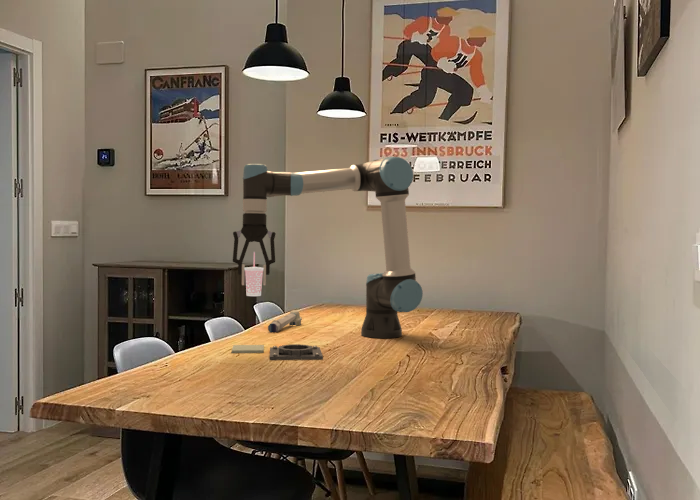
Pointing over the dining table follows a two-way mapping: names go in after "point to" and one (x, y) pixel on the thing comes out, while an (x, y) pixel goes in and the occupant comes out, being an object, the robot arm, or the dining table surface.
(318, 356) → the flange
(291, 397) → the dining table surface
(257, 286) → the beverage cup
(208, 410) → the dining table surface
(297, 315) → the tan tube
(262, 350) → the pad
